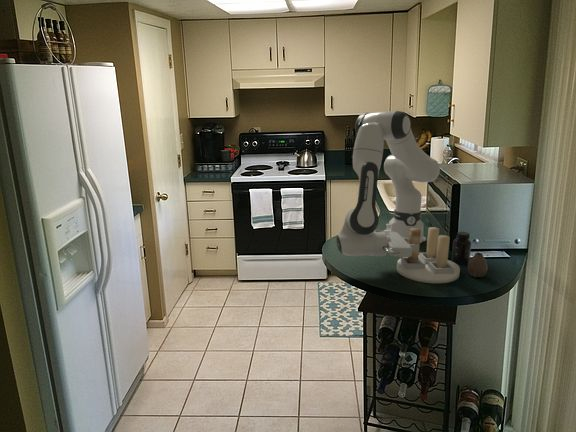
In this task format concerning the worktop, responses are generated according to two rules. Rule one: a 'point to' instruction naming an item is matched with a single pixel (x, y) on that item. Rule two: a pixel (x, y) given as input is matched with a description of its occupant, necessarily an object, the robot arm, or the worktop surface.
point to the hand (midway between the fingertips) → (416, 243)
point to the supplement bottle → (461, 248)
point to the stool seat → (431, 262)
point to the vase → (477, 265)
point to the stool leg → (413, 238)
